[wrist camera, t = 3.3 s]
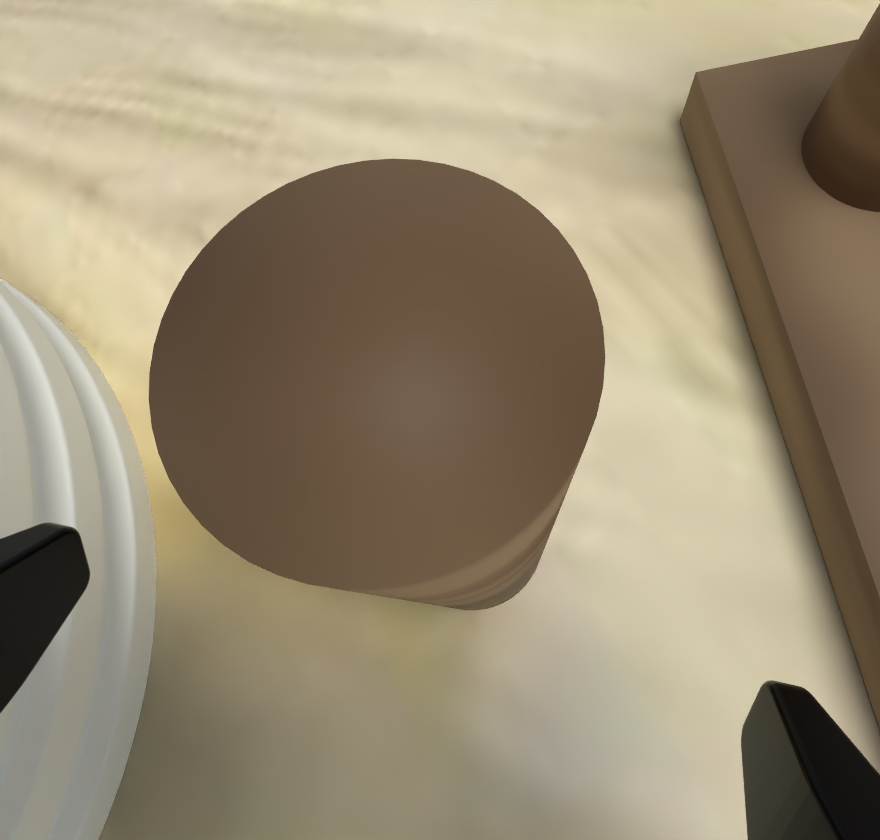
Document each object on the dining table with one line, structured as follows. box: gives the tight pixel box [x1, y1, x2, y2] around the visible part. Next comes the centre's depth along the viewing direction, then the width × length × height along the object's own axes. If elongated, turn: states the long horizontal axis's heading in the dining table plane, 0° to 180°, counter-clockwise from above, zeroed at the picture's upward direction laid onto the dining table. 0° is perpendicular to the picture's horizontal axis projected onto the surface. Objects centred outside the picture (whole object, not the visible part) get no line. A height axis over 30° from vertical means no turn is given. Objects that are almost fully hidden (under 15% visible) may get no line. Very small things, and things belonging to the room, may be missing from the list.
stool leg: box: [149, 159, 605, 610], centre depth 12 cm, size 4×4×13 cm
